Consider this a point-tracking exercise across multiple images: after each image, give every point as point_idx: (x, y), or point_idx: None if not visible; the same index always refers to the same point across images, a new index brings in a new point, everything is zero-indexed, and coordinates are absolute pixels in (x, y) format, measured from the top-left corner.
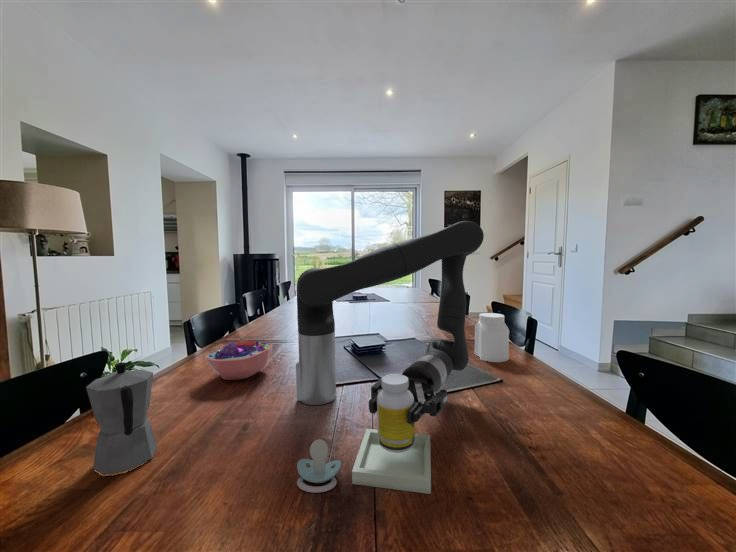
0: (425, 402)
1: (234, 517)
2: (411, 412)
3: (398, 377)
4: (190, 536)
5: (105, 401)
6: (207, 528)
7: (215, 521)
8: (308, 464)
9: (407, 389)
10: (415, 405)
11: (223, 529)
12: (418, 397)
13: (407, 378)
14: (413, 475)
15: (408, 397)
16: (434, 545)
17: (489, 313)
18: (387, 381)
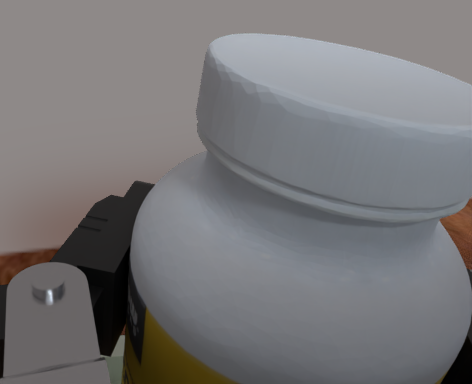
0: (3, 331)
1: (452, 235)
2: (137, 182)
3: (341, 82)
4: (462, 208)
5: None
6: (460, 218)
7: (466, 227)
8: None
9: (224, 256)
10: (114, 229)
11: (439, 220)
12: (84, 334)
13: (228, 61)
14: (113, 351)
15: (177, 169)
16: (57, 247)
17: None
18: (377, 58)
